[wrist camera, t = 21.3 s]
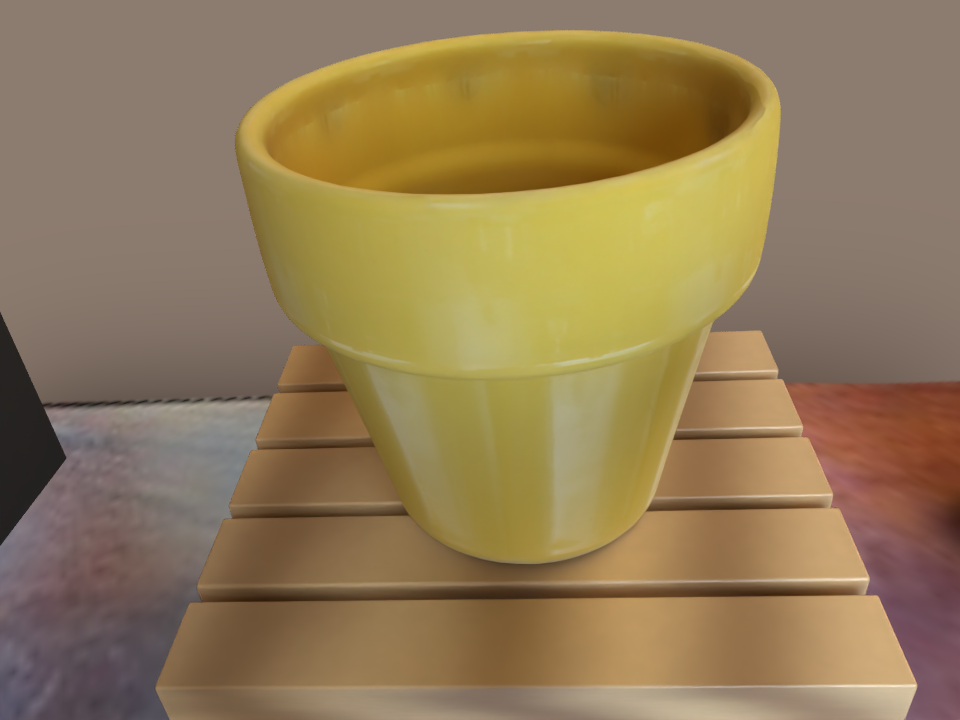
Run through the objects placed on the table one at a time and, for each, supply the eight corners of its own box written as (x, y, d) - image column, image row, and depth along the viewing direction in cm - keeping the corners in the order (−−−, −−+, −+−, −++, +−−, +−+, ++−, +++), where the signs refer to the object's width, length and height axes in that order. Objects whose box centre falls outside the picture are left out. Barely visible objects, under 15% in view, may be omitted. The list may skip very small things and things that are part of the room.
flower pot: (294, 404, 24) (212, 63, 19) (614, 327, 27) (625, 3, 21) (368, 704, 16) (262, 255, 11) (821, 554, 19) (925, 122, 13)
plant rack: (734, 513, 31) (761, 329, 26) (843, 883, 20) (919, 686, 16) (332, 519, 32) (292, 344, 27) (242, 875, 21) (153, 688, 17)
